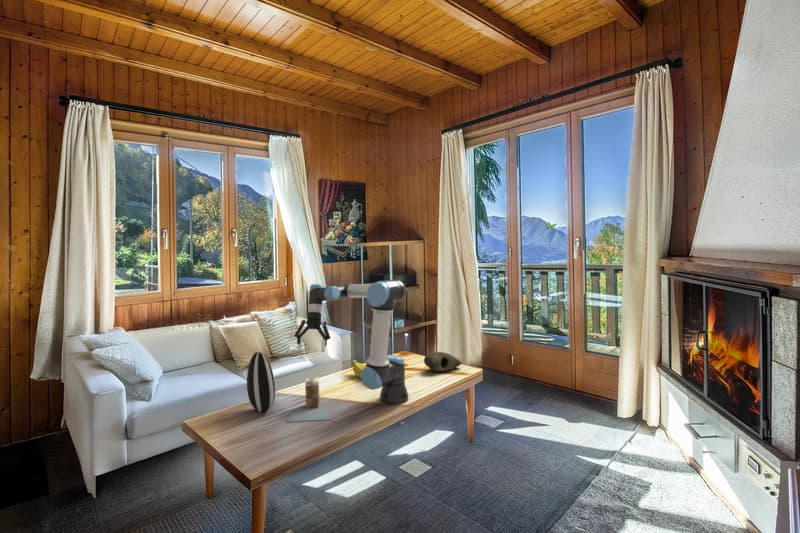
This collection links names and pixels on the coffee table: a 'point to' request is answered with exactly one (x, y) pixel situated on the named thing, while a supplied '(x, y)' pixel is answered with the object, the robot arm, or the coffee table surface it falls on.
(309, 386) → the block
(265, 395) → the sunflower seed
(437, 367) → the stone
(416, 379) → the coffee table surface
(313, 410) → the mat
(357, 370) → the fruit
